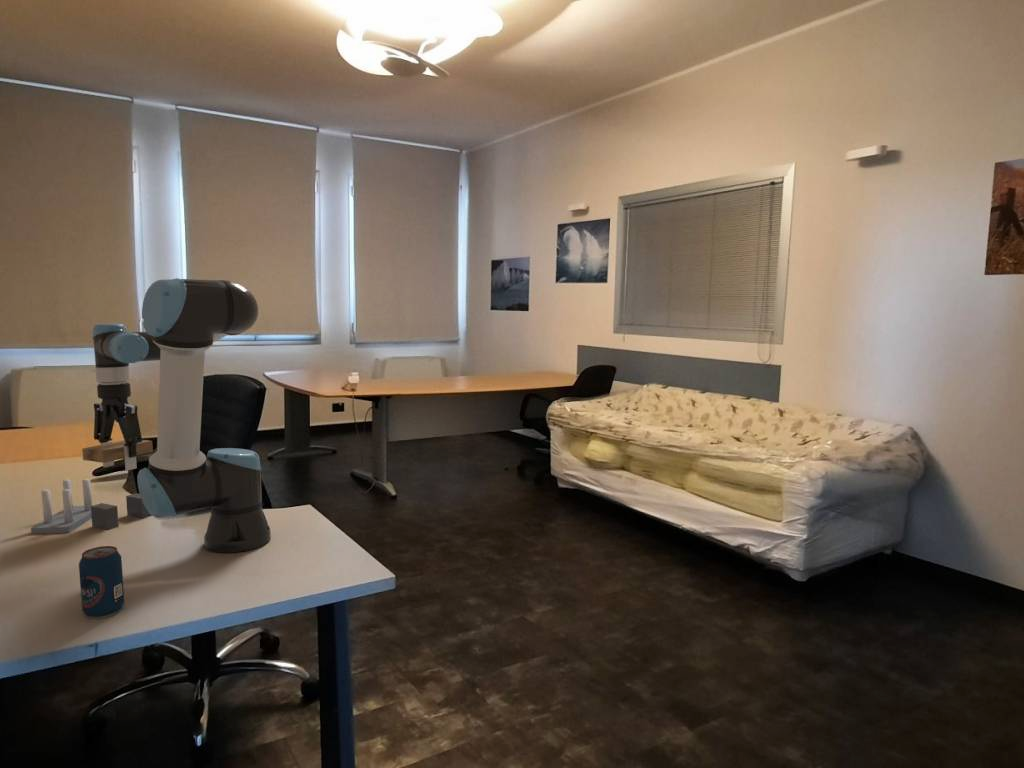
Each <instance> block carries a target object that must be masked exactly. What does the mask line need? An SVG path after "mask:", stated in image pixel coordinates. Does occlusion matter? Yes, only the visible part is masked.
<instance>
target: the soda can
mask: <svg viewBox="0 0 1024 768" xmlns="http://www.w3.org/2000/svg"><path fill="white" fill-rule="evenodd" d="M122 561H123V560H122V554H120V553H119V551H118V548H117V546H111V545H104V546H96V547H92V548H90V549H87V550H85V551H83V552H82V553H81V558H80V560H79V561H78V572H79V574H78V575H79V585H80V597H81V610H82V612H83V613H84V614H85V615H86V616H87V617H88V618H90V619H104V618H107V617H110V616H113V615H116V614H117V613H119V612H120V611H121V610H122V608H123V605H124V604H125V592H124V591H125V589H124V588H125V587H124V579H123V578H124V576H123V575H124V574H123V562H122Z"/></svg>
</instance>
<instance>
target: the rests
mask: <svg viewBox="0 0 1024 768" xmlns="http://www.w3.org/2000/svg"><path fill="white" fill-rule="evenodd" d="M125 498H126V499H125V501H126V515H127V516H129V517H134V518H139V519H145V518H148V517H151V516H152V515H151V514H150V513H149V512H148V511H147V509H146V507H145V506H144V504H143V501H142V499H141V496H140V493H137V492H136V493H132V494H128V495H126V496H125ZM91 516H92V518H91V526H92V527H93V528H97V529H102V530H107V531H108V530H109V531H110V530H111V529H115V528H117V527H119V512H118V505H115V504H109V503H104V502H103V503H102V502H100V503H97V504H94V505H93V504H92V506H91Z"/></svg>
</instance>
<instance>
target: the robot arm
mask: <svg viewBox="0 0 1024 768" xmlns="http://www.w3.org/2000/svg"><path fill="white" fill-rule="evenodd" d="M141 307H142V308H141V318H142V319H143V320H142V325H143V328H144V329H143V330H145V331H130V332H129V331H127V327H126V325H125V324H123V323H97V324H95V325H94V326H93V327H92V330H93V331H92V340H93V351H94V363H95V381H96V383H98V384H97V385H96V390H97V392H96V393H97V398H98V399H101V402H97V403H94V404H93V409H94V425H93V439H94V440H95V441H98V443H99V444H100V445H103V444H108V443H113V442H114V441H113V438H112V432H113V430H114V429H113V428H114V426H115V425H114V424H115V422H116V423H118V426H119V428H120V431H121V434H122V437H123V439H124V440H125V443H126V444H124V456H125V458H124V468H125V471H131V470H135V469H138V468H137V456H138V455H137V453H136V444H137V443H140V442H142V440H143V438H142V437H143V436H142V433H141V428H140V427H141V426H140V422H139V417H138V405H137V404H133V405H132V404H130V403H129V400H128V398H130V397H131V395H132V392H131V391H132V390H131V384H130V383H129V381H130V369H129V366H130V364H136V363H140V362H153V361H159V378H158V380H159V383H158V384H159V385H158V409H157V411H158V412H157V436H156V437H157V438H156V442H157V443H156V451H154V452H152V454H150V455H149V457H148V467H143V468H142V469H139V471H138V473H137V476H136V477H137V487H138V492H139V494H140V496H141V499H142V501H143V504H144V506H145V507H146V509H147V511H148V512H149V513H150V514H151V516H152V517H154V518H156V519H163V518H169V517H176V516H178V515H183V514H187V513H191V512H196V511H200V510H204V509H209V508H210V517H209V520H208V524H207V529H206V532H205V535H204V541H203V542H204V543H203V544H204V548H205V549H206V550H208V551H210V552H214V553H222V554H226V553H227V554H230V553H241V552H246V551H250V550H255V549H258V548H261V547H262V546H265V545H266V544H267V543H269V542H271V541H270V540H271V537H272V536H271V535H272V534H271V527H270V526H269V523H268V520H267V518H266V515H265V513H264V509H263V502H262V501H263V500H262V499H263V497H262V495H263V494H262V474H261V473H262V467H261V461H260V455H259V454H258V453H257V452H256V451H254V450H250V449H245V448H238V447H237V448H234V447H227V448H226V447H224V448H223V447H221V448H218V447H217V448H213V449H210V450H209V449H208V451H207V454H205V453H203V451H201V450H200V449H201V448H200V447H201V446H200V445H201V429H202V412H203V411H202V410H203V409H202V407H203V392H204V391H203V389H204V373H205V354H206V351H207V350H208V349H210V348H211V347H212V346H213V345H214V343H215V342H217V341H219V340H221V339H222V338H225V337H226V336H237V335H240V334H242V333H244V332H247V331H248V330H250V329H251V328H252V327H253V326H254V325H255V323H256V322H257V319H258V316H259V305H258V302H257V299H256V298H255V296H254V295H253V293H252V292H251V291H250V290H249V289H248V288H247V287H245V286H244V285H242V284H240V283H238V282H234V281H232V280H231V281H230V280H227V279H218V280H215V279H191V278H190V279H189V278H178V277H176V278H171V279H168V278H167V279H159V280H156V281H154V282H153V283H151V284H150V286H148V288H147V289H146V292H145V295H144V297H143V300H142V306H141ZM113 466H115V460H114V461H110V462H105V463H102V468H108V467H113Z"/></svg>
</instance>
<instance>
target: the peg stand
mask: <svg viewBox="0 0 1024 768" xmlns="http://www.w3.org/2000/svg"><path fill="white" fill-rule="evenodd" d="M81 483H82V493H83V495H82V496H83V505H73V496H72V495H73V493H72V480H71V479H64V480H62V491H61V492H62V495H61V496H62V505H63V509H62V510H60V511H58V512H57V513H55V514H53V512H52V500H51V490H50V489H44V490H41V492H40V493H41V502H42V504H41V505H42V514H43V520H42V521H41V522H39V523H37V524H35V525H33V526H31V528H30V532H31V533H30V534H32V535H33V534H35V535H36V534H64V533H66V534H67V533H71V532H72V531H74V530H75V529H77V528H79V527H80V526H82V525H83V524H85V523H87V522H88V521H89V520H92V516H91V506H93V503H92V489H91V488H92V486H91V478H84V479H82V481H81Z"/></svg>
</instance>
